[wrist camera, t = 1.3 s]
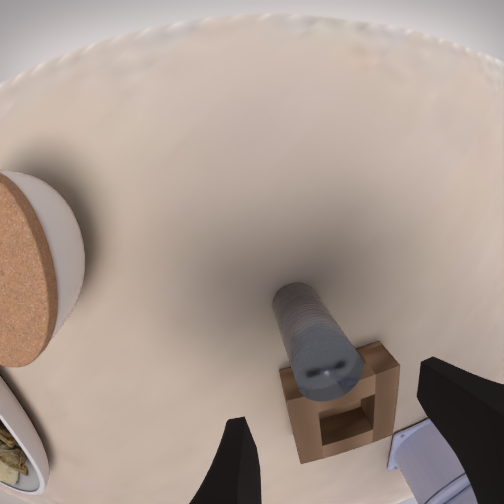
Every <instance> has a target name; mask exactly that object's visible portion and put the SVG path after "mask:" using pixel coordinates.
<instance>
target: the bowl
mask: <svg viewBox="0 0 504 504" xmlns="http://www.w3.org/2000/svg"><path fill="white" fill-rule="evenodd" d="M48 479H49V465H48V459H47V456H46V452H45V450H44V447H43V444H42V442H41V440H40V438H39V436H38V434H37V432H36V430H35V428H34V426H33V424H32V423H31V421H30V419H29V417H28V416H27V414H26V413H25V411H24V409H23V408H22V406H21V405H20V403H19V402H18V400H17V399H16V397H15V396H14V394H13V393H12V391H11V390H10V389H9V387H8V386H7V384H6V383H5V382H4V380H3V379H2V377H1V376H0V483H1V484H3V485H5V486H7V487H9V488H11V489H13V490H16V491H18V492H21V493H25V494H29V495H38V494H41V493H42V492H44V490H45V488H46V485H47V483H48Z"/></svg>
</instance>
